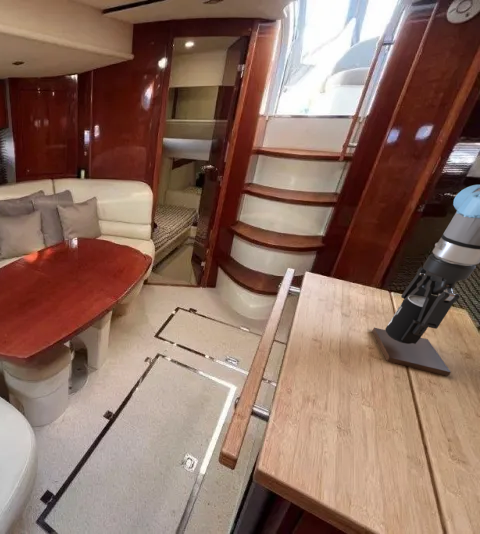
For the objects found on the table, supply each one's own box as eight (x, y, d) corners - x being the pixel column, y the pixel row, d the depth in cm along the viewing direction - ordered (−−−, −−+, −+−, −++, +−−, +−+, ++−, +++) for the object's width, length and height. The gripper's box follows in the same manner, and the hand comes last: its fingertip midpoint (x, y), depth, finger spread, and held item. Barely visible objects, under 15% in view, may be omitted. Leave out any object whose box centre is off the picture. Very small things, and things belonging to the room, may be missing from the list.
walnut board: (424, 343, 87) (427, 339, 86) (447, 376, 77) (451, 372, 76) (371, 331, 92) (374, 327, 91) (386, 361, 82) (389, 357, 81)
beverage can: (393, 343, 81) (417, 307, 75) (378, 327, 87) (400, 292, 81) (422, 347, 80) (449, 311, 74) (406, 330, 85) (430, 295, 79)
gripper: (414, 239, 80) (373, 309, 92) (452, 275, 65) (398, 352, 77) (453, 244, 77) (406, 315, 89) (503, 283, 62) (438, 362, 74)
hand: (402, 332), depth 83 cm, fingers closed on beverage can, 6 cm apart
